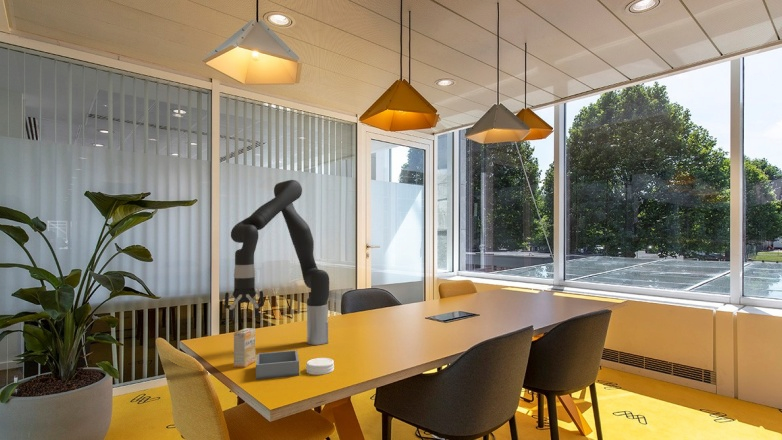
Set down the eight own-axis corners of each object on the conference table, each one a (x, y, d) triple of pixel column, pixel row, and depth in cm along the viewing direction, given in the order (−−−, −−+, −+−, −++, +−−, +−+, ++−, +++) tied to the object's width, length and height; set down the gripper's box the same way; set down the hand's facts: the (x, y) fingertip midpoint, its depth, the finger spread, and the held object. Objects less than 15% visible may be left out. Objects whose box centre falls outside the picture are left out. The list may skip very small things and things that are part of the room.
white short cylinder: (309, 377, 152) (309, 367, 152) (303, 369, 161) (303, 359, 161) (337, 373, 156) (337, 363, 156) (329, 365, 165) (329, 356, 165)
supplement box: (245, 368, 162) (244, 333, 162) (233, 367, 163) (233, 332, 163) (256, 361, 170) (255, 328, 171) (244, 361, 171) (244, 327, 171)
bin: (296, 363, 167) (296, 350, 167) (299, 375, 153) (299, 361, 153) (257, 366, 163) (257, 353, 164) (255, 379, 149) (255, 365, 149)
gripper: (263, 274, 173) (263, 315, 173) (225, 275, 169) (225, 317, 169) (263, 276, 166) (263, 319, 165) (223, 277, 162) (223, 321, 162)
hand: (244, 318), depth 167 cm, fingers open, 8 cm apart
